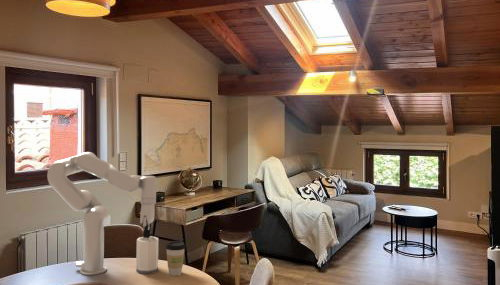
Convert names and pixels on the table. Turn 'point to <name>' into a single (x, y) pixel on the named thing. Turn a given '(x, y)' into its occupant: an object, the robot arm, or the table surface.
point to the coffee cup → (175, 257)
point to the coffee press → (147, 255)
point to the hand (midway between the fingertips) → (147, 236)
